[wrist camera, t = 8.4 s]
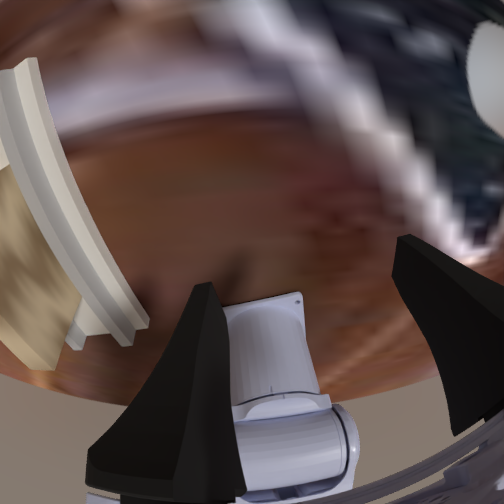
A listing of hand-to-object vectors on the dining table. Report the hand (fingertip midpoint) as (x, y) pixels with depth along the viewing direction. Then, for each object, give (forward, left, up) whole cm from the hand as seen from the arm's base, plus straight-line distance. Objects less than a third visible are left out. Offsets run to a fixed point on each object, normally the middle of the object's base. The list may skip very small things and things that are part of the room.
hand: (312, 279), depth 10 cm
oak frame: (+2, +18, -8) cm, 20 cm away
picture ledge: (+2, +18, -9) cm, 20 cm away
